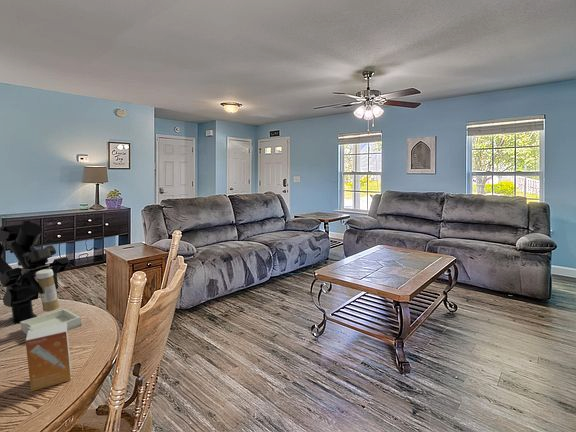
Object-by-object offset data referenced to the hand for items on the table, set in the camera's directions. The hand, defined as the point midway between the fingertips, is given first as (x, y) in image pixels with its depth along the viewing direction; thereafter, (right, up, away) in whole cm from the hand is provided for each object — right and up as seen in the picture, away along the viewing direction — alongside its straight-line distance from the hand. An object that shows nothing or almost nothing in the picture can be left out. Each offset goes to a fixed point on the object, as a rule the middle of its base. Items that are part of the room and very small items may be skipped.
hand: (49, 290), depth 109 cm
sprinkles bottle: (-1, -7, +2) cm, 7 cm away
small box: (+19, -17, -26) cm, 36 cm away
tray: (-1, -13, +2) cm, 13 cm away
